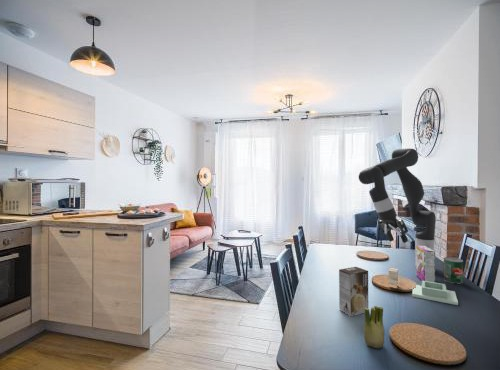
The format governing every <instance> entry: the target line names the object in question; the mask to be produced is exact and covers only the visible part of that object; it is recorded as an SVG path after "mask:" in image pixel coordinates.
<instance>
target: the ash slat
mask: <svg viewBox="0 0 500 370" xmlns="http://www.w3.org/2000/svg"><path fill="white" fill-rule="evenodd" d="M389 284H391V285H396V286H397V284H399V269H398V268H391V267H390V268H389V269H388V285H389Z"/></svg>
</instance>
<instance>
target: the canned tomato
mask: <svg viewBox="0 0 500 370" xmlns="http://www.w3.org/2000/svg"><path fill="white" fill-rule="evenodd" d="M443 281H444V282H446V281H447V282H446V283H449V282H450V283H449V284H454V283H457V285H459V284H460V285H462V284H463V283H464V260H463V259H460V258H458V257H452V256H451V257H449V256H446V257H445V256H444V257H443ZM461 283H462V284H461Z"/></svg>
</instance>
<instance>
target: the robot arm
mask: <svg viewBox="0 0 500 370" xmlns="http://www.w3.org/2000/svg"><path fill="white" fill-rule="evenodd" d="M418 160H419V153H418V151H417V150H416V149H414V148H397V149H394V150H392V152H391V158H390V159H386V160H383V161H380V162H378V163H376V164H375V165H373V166H370V167H368V168H365V169H363V170H361V171H360V172H359V174H358V180H359V182H360V183H361V184H363V185H371V184H374V187H373V188H370V190H369V191H368V192H369V196H370V199H371V200H372V203H373V207H374V209H375V211H376V214H377V215H378V216H377V217H378V219H379V220H378V221H377V223H378V226H379V228H380V231H381V233H382V234H383V233H384V234H385V235H386V238H387V239H388V241H389V242H392V241H395V238H394V236H393V234H392V232H391V231H394V232H396V233H398V234H399V237H400V239H401V241H402V243H403V244H405V243H407V242H408V241H409V240H408V237H407V235H406V234H407V233H408V232H409V230H408V227H407V225H406V223H405V221H404V220H403V219H400V220H398V218H397V216H398V214H397V212H396V210H395V207H394V204H393V202H392V200H391V198H390V196H389V194H388V192H387V189H386V184H385V178H386V177H387V176H389V175H390V174H392V173H393V174H394V173H395V172H396V173H397V175H398V178H399V180H400V183H401V186H402V189H403V192H404V195H405V197H406V201H407V204H408V207H409V208H408V209H409V211H410V216H411V221H412V224H414V225H415V226H417V227H422V228H424V227H425V230H423V231H418V232H416V233H415V240H414V241H415V243H414V244H415V247H414V248H415V249H414V257H415V259H414V261H415V262H414V263H415V264H414V266H415V268H416V246H426V247H428V248H430V249H432V250H433V251H435V235H436V218H437V217H436V214H435V212H434V211H431V210H421V209H420V208H419V205H420V203H421V202H422V200H423V199H424V196H425V190H424V187H423V184H422V182H421V180H420V179H419V178H418V177H417V176H416V175H414V174H413V173H412V172H411V171H410V170H409V169H408V167H409V168H410V167H412V166H415V165H416V164H417V163H418Z"/></svg>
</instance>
